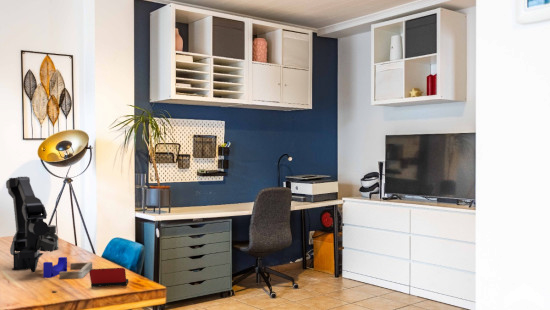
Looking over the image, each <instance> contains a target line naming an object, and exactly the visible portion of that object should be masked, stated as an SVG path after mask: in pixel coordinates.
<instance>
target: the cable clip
mask: <svg viewBox="0 0 550 310" xmlns="http://www.w3.org/2000/svg"><path fill="white" fill-rule="evenodd" d="M42 265H43V267H42V268H43V269H42V271H43V273H42V275H43V279H44V278H45V279H47V278H49V279H51V278H54V277H56V276H59V272H67V271H68V256H67V257H64V256H59V257H58V259H57V264H53V261H44V262H43V263H42Z"/></svg>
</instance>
